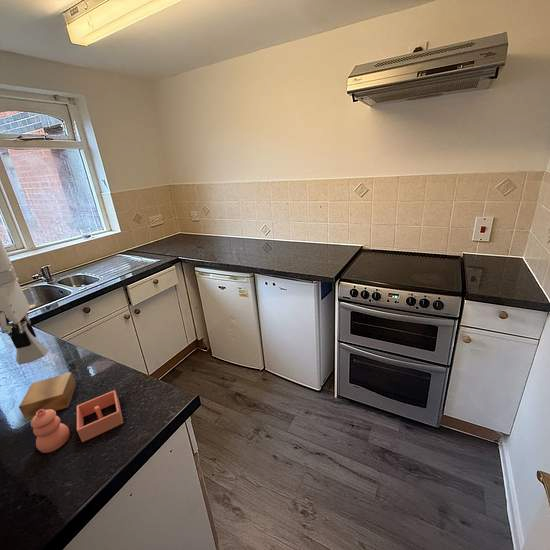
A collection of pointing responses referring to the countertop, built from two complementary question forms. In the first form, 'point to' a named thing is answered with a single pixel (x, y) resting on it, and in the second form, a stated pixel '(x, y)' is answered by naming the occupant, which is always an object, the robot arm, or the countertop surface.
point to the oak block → (48, 395)
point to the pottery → (57, 434)
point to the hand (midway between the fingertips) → (26, 342)
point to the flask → (30, 348)
